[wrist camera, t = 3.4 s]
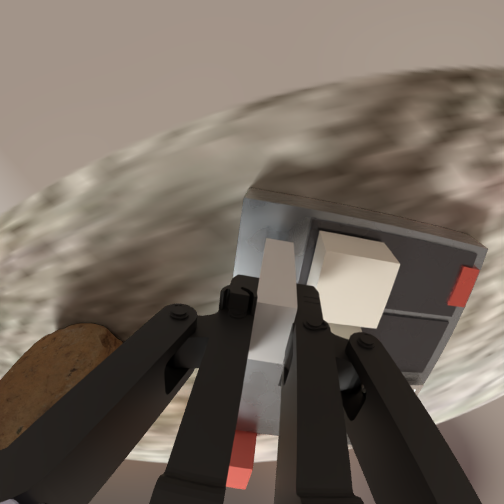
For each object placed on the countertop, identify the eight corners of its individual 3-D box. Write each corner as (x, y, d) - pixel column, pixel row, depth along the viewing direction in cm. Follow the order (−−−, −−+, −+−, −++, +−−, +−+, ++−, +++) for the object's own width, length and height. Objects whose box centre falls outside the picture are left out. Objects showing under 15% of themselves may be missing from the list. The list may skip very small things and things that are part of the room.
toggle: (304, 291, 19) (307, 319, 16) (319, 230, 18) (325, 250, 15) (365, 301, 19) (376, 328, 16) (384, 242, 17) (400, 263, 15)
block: (124, 319, 26) (1, 509, 8) (149, 380, 29) (73, 554, 10) (43, 318, 27) (-70, 448, 9) (71, 372, 30) (-13, 502, 12)
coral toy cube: (207, 429, 31) (194, 480, 25) (209, 403, 29) (195, 459, 23) (251, 437, 31) (245, 489, 24) (259, 412, 29) (252, 469, 22)
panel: (219, 403, 29) (212, 435, 25) (249, 187, 21) (241, 202, 17) (379, 419, 28) (386, 449, 24) (468, 234, 20) (496, 255, 16)
